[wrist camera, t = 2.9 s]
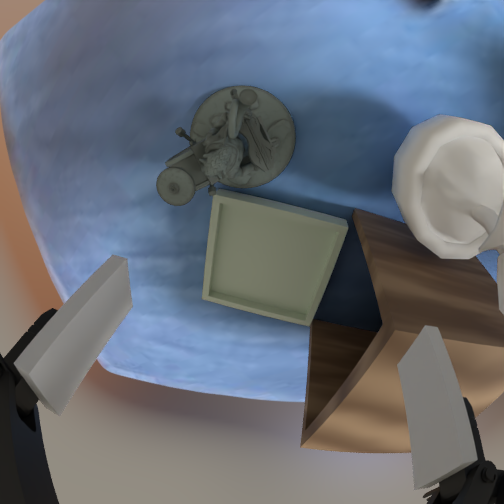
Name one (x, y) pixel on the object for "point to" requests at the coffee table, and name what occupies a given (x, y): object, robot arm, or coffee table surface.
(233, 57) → the coffee table surface
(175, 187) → the figurine
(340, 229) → the tray
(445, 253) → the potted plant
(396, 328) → the shelf
